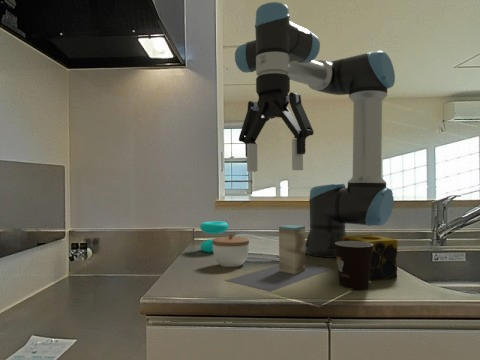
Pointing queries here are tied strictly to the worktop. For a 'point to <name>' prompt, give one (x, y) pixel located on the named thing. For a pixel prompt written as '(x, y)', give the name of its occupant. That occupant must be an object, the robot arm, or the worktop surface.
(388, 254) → the yellow patterned cube
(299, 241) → the birch block
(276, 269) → the rubber mat
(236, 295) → the worktop surface
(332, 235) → the robot arm
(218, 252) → the lidded jar
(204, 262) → the worktop surface
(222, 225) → the donuts
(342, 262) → the coffee mug
